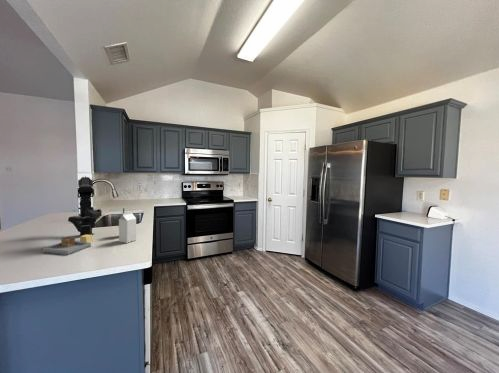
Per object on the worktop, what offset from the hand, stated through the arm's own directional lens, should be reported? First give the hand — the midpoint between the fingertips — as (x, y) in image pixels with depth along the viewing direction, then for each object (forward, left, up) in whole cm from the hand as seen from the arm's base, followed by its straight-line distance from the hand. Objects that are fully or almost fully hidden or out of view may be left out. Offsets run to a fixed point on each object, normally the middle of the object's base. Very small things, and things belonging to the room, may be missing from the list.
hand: (86, 229), depth 138 cm
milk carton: (-8, +23, -8) cm, 26 cm away
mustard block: (0, 0, -8) cm, 8 cm away
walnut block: (+10, -2, -7) cm, 12 cm away
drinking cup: (-17, +13, -8) cm, 23 cm away
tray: (+13, +1, -8) cm, 15 cm away
